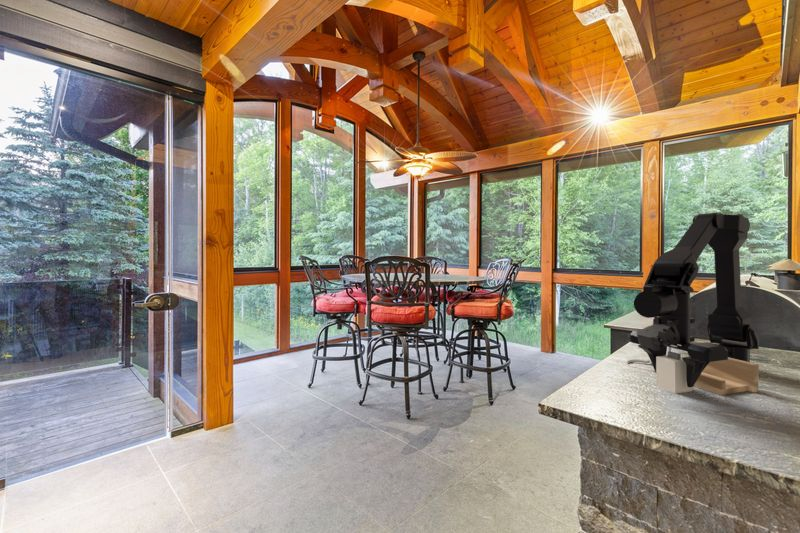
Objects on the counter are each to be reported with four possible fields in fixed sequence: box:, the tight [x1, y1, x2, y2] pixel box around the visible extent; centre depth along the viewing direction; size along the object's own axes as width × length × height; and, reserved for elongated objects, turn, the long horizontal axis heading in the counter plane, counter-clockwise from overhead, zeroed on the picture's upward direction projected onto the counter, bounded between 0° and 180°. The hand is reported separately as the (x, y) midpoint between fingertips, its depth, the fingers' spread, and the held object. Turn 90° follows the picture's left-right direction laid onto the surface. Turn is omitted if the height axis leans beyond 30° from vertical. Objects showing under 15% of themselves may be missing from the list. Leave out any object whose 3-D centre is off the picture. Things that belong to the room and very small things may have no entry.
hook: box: [624, 347, 672, 373], centre depth 104 cm, size 7×9×20 cm
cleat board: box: [693, 357, 760, 396], centre depth 87 cm, size 9×14×6 cm, turn 14°
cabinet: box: [655, 350, 694, 394], centre depth 84 cm, size 5×4×8 cm
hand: (674, 381), depth 84 cm, fingers open, 7 cm apart
